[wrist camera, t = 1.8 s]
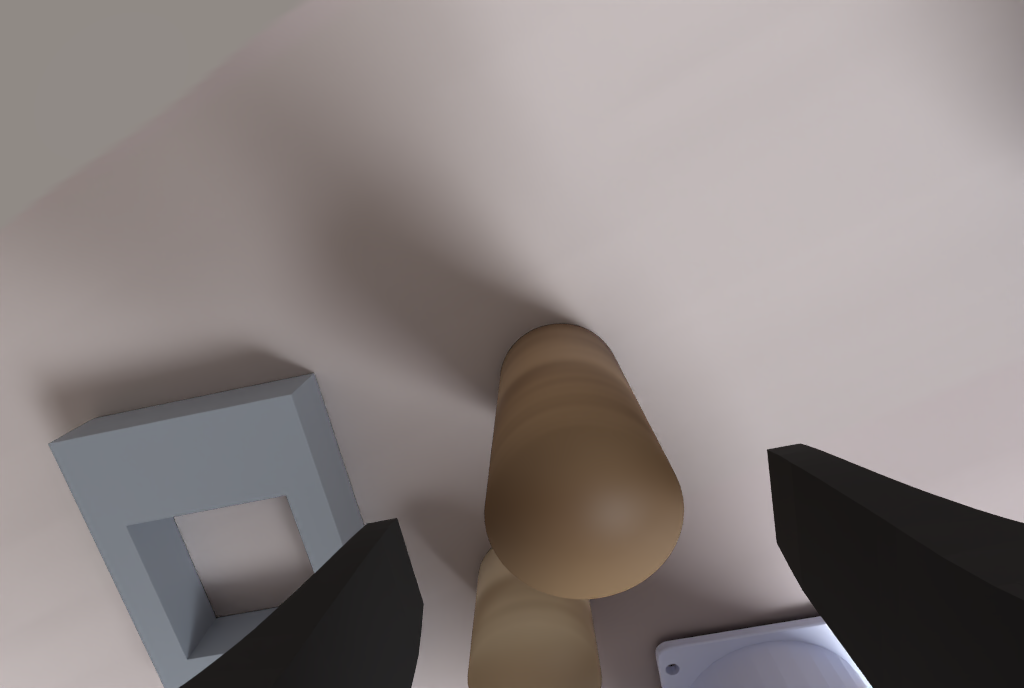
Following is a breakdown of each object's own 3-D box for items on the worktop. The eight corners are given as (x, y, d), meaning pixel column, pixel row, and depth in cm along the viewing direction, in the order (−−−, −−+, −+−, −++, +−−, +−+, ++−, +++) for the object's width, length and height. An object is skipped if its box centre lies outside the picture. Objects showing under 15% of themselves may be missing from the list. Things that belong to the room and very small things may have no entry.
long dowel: (627, 424, 20) (695, 582, 12) (513, 445, 20) (507, 613, 12) (608, 312, 18) (668, 406, 11) (488, 337, 19) (463, 445, 11)
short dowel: (593, 614, 22) (612, 721, 17) (491, 631, 22) (484, 740, 18) (574, 523, 21) (588, 614, 16) (467, 543, 21) (453, 637, 17)
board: (407, 656, 22) (396, 701, 20) (215, 688, 23) (187, 735, 21) (314, 373, 19) (291, 394, 17) (93, 418, 20) (48, 443, 18)
